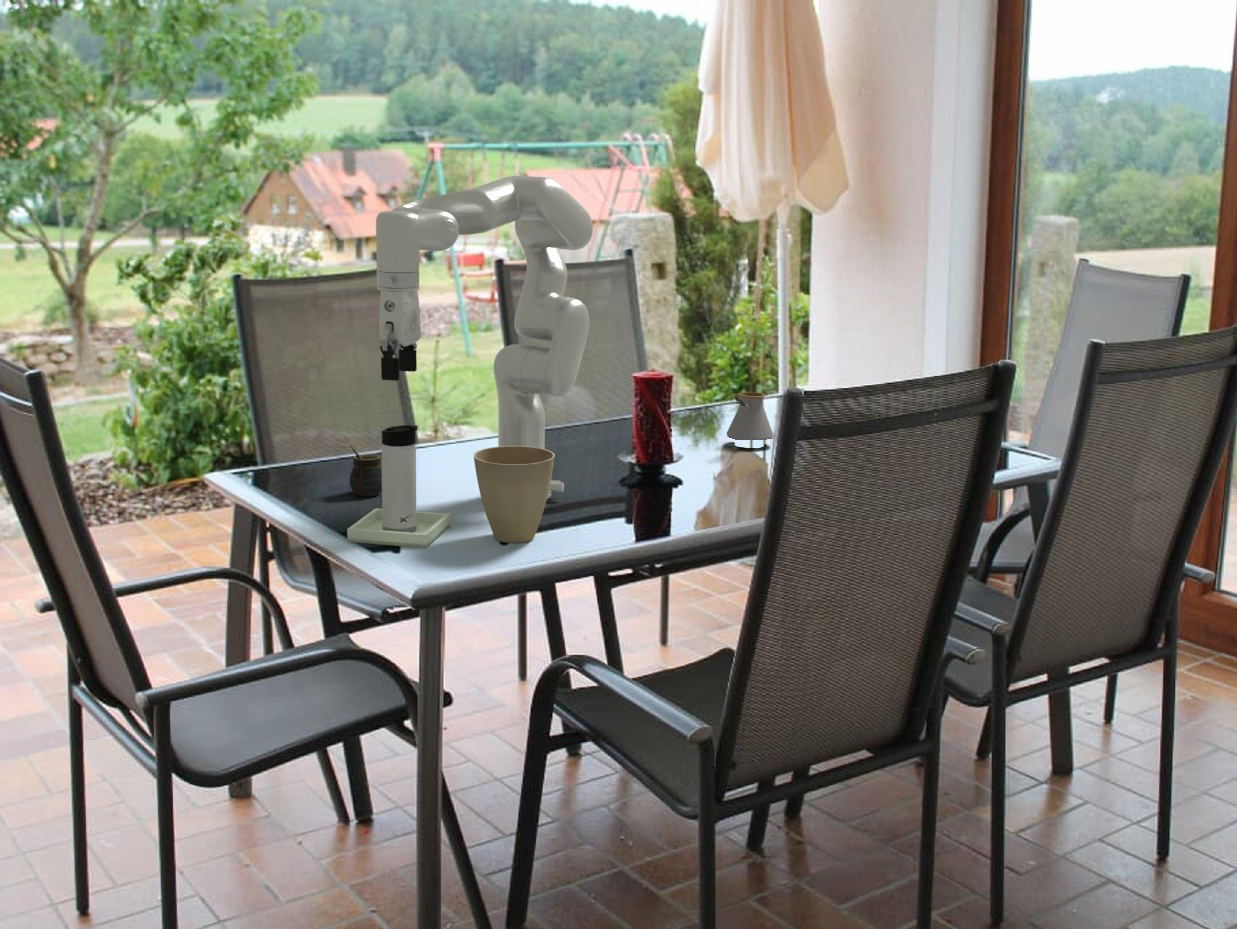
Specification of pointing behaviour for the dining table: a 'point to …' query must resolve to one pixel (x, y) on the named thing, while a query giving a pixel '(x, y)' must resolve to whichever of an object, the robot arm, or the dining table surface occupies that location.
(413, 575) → the dining table surface
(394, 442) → the travel mug
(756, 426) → the coffee pot
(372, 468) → the mate gourd
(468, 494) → the dining table surface
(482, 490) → the plant pot
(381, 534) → the tray
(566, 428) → the dining table surface
